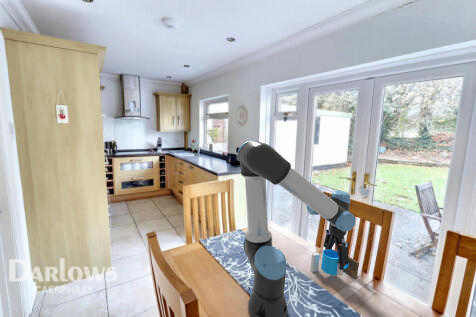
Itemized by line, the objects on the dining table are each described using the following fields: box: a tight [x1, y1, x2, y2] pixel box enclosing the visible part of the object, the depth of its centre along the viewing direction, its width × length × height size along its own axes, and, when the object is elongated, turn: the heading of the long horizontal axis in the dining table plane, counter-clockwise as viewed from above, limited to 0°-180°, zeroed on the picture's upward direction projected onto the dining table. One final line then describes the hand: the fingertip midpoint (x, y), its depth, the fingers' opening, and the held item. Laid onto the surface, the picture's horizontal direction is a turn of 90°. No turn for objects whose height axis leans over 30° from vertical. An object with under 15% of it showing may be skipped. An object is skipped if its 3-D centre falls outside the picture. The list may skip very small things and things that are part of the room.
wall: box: [310, 252, 321, 273], centre depth 113 cm, size 2×20×10 cm, turn 108°
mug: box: [320, 249, 349, 276], centre depth 106 cm, size 12×8×8 cm
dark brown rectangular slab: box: [343, 255, 360, 280], centre depth 110 cm, size 2×10×8 cm, turn 27°
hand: (333, 268), depth 107 cm, fingers closed on mug, 8 cm apart
